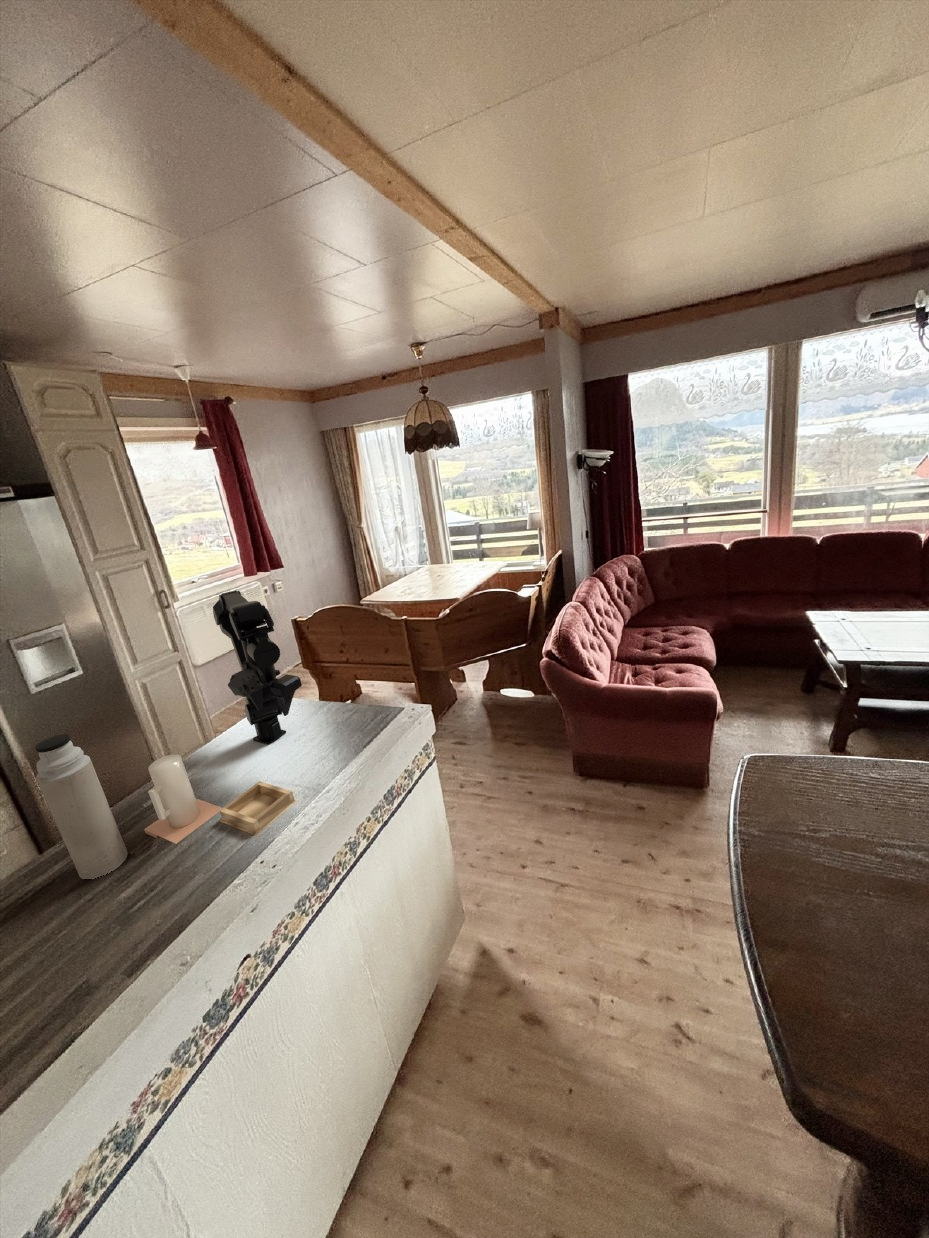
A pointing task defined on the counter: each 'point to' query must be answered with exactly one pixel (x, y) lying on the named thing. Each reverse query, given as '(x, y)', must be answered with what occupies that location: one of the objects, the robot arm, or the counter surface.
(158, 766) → the jug
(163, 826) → the tile
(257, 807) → the holder
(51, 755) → the thermos bottle
